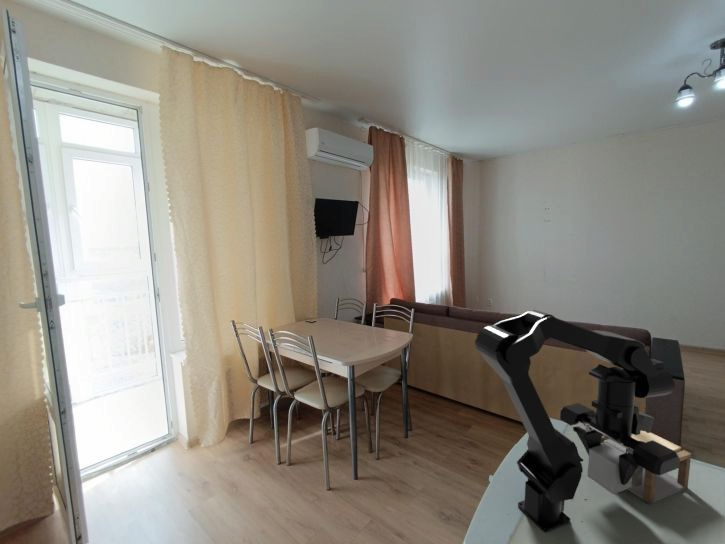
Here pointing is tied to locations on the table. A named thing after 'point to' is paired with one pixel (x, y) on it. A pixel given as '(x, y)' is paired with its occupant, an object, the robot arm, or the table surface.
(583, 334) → the robot arm
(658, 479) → the mat
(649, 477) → the frame
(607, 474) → the light grey block
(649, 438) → the trapdoor
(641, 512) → the table surface
